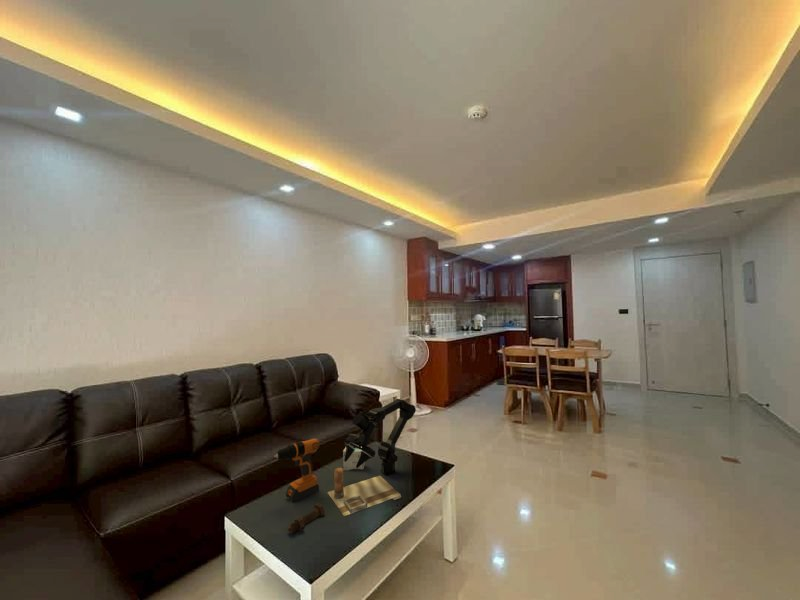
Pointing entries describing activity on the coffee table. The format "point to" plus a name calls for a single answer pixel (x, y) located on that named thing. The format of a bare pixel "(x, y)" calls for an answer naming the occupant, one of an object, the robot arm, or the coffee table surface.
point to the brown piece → (338, 483)
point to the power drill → (302, 459)
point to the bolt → (306, 519)
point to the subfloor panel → (364, 495)
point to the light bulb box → (352, 460)
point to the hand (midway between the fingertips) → (350, 464)
